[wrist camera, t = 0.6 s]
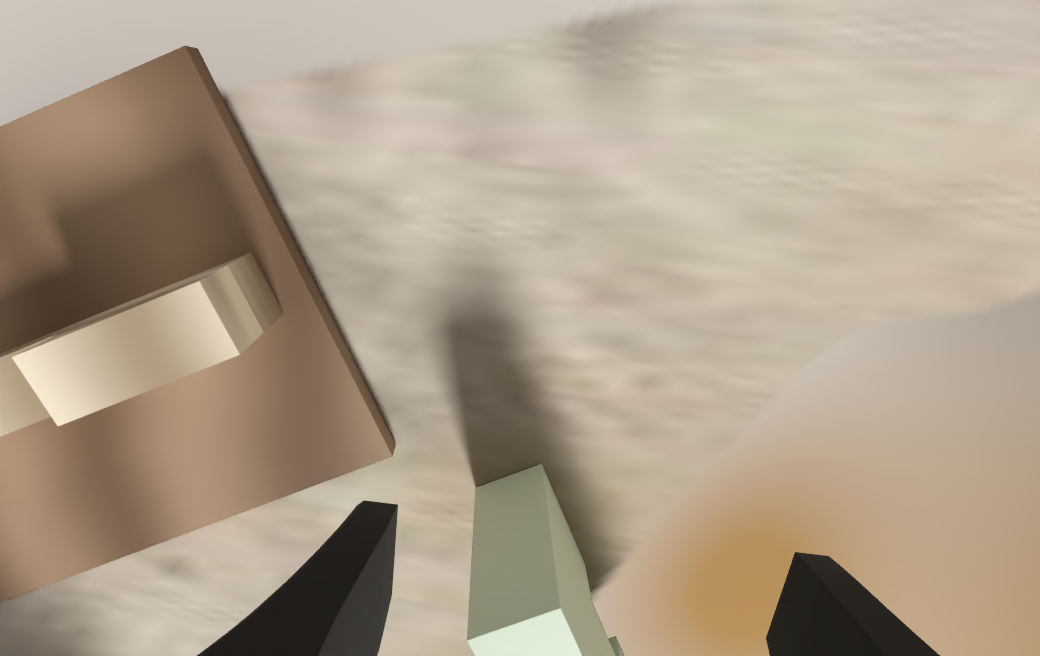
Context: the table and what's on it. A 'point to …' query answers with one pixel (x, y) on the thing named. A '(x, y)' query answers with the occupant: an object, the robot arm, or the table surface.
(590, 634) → the sage plate
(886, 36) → the table surface
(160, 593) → the table surface
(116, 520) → the slotted base
